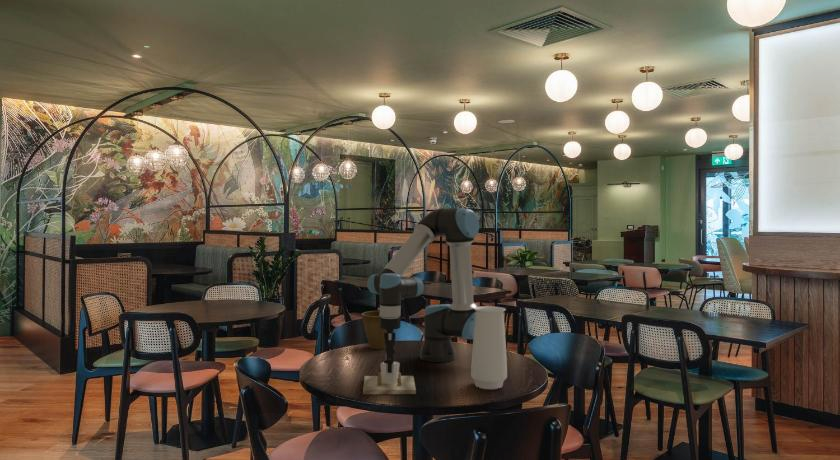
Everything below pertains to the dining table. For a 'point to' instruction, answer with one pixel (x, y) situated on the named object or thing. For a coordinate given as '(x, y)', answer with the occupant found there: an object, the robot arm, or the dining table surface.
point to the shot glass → (395, 374)
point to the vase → (489, 348)
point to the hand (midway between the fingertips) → (389, 376)
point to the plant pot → (373, 329)
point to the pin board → (377, 387)
